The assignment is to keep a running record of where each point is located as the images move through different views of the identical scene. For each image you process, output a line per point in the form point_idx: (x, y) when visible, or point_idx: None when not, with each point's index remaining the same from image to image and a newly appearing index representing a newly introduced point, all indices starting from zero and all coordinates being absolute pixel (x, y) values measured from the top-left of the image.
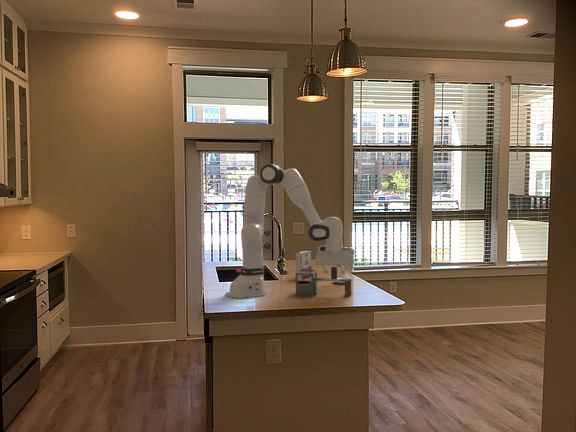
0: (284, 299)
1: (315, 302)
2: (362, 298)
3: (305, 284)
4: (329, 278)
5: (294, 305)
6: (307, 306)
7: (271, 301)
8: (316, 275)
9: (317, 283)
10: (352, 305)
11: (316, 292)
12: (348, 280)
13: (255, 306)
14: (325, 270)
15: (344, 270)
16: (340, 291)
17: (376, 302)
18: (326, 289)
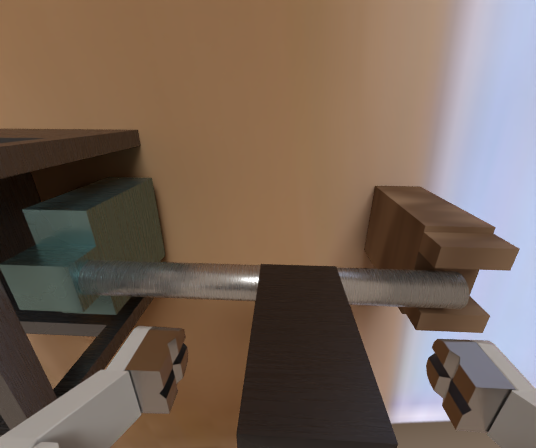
0: (49, 353)
1: (215, 389)
2: (474, 300)
3: (55, 325)
4: (236, 299)
5: (144, 429)
6: (200, 437)
7: None
8: (7, 176)
9: (115, 212)
10: (390, 419)
11: (160, 237)
12: (458, 331)
13: None
14: (145, 404)
15: (503, 434)
16: (332, 87)
17: (530, 371)
18: (188, 2)
